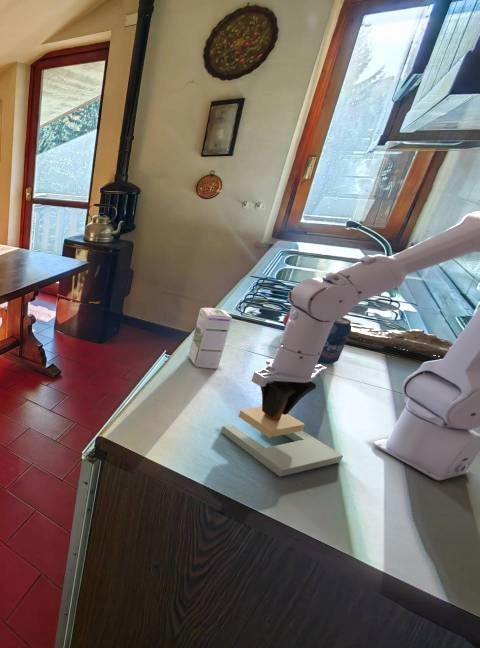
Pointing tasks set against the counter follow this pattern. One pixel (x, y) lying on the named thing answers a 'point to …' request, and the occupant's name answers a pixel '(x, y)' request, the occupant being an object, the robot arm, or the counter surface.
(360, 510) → the counter surface
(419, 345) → the driftwood log
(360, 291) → the robot arm
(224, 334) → the syrup box
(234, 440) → the notched mat
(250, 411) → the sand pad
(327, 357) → the soda can
